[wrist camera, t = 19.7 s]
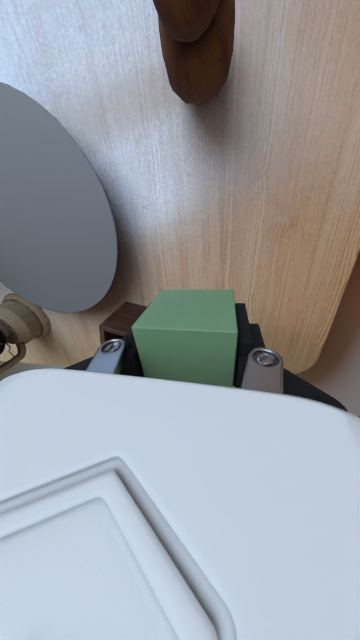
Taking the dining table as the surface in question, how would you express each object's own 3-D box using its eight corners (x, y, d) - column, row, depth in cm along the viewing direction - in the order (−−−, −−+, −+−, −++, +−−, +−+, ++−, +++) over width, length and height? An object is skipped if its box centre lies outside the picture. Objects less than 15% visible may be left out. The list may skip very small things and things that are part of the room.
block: (169, 344, 14) (148, 394, 10) (161, 289, 12) (130, 327, 8) (229, 348, 13) (231, 405, 9) (233, 289, 11) (238, 332, 7)
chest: (125, 301, 34) (98, 325, 27) (188, 318, 33) (178, 348, 26) (125, 352, 42) (104, 382, 34) (177, 367, 41) (166, 401, 33)
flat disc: (143, 305, 34) (133, 317, 30) (26, 299, 40) (6, 308, 36) (104, 77, 20) (76, 46, 16) (-70, 120, 25) (-120, 104, 22)
